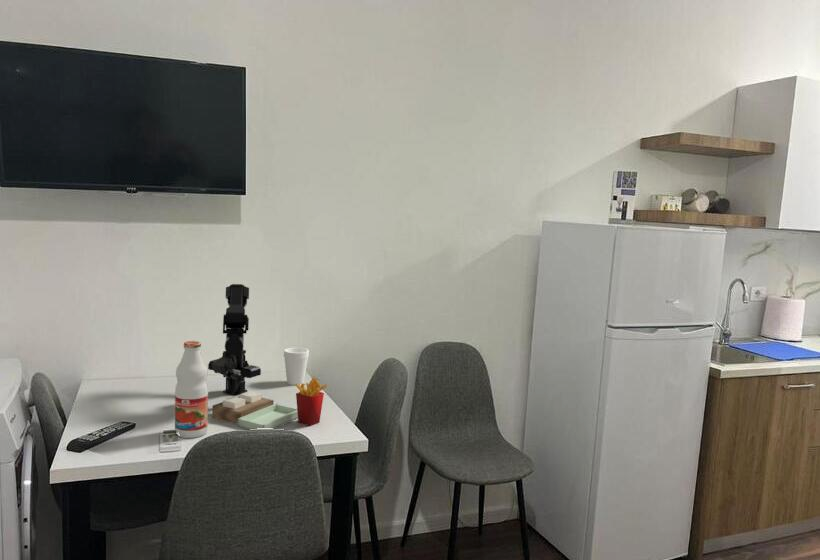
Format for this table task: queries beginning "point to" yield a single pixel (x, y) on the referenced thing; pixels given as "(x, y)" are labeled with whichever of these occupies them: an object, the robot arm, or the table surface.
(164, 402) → the table surface
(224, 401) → the tile
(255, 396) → the tile
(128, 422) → the table surface
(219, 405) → the board
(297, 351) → the foam cup
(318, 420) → the french fries
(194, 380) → the fruit juice
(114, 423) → the table surface
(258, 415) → the tray
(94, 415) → the table surface
